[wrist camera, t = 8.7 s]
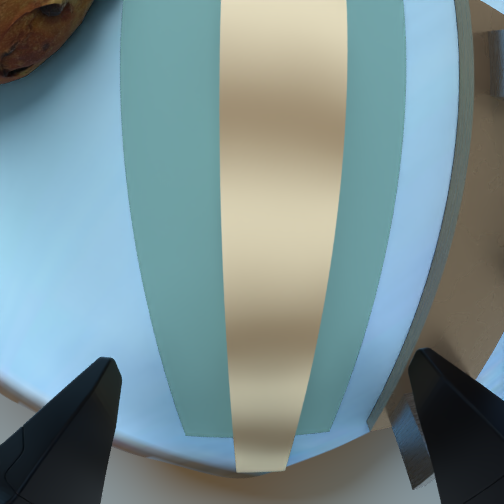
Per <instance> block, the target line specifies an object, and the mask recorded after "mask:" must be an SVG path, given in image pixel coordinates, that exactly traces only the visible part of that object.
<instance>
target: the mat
mask: <svg viewBox="0 0 504 504" xmlns="http://www.w3.org/2000/svg"><path fill="white" fill-rule="evenodd" d="M346 2H347V98H346V120H345V136H344V150H343V163H342V174H341V185H340V194H339V204H338V212H337V221H336V229H335V237H334V244H333V251H332V258H331V265H330V271H329V278H328V284H327V290H326V296H325V302H324V307H323V313H322V318H321V324H320V329H319V334H318V339H317V344H316V349H315V354H314V359H313V363H312V368H311V372H310V377H309V381H308V386H307V390H306V394H305V398H304V402H303V406H302V410H301V414H300V418H299V422H298V426H297V430H296V433H295V435H303V434H313V433H322V432H329V431H330V428H331V426H332V424H333V421H334V419H335V416H336V414H337V411H338V409H339V406H340V404H341V401H342V399H343V396H344V393H345V391H346V388H347V385H348V383H349V380H350V377H351V374H352V371H353V368H354V366H355V363H356V360H357V357H358V353H359V350H360V347H361V344H362V341H363V338H364V334H365V331H366V328H367V324H368V321H369V317H370V314H371V310H372V307H373V303H374V299H375V295H376V291H377V287H378V283H379V279H380V275H381V271H382V267H383V262H384V258H385V253H386V248H387V243H388V238H389V233H390V228H391V222H392V217H393V211H394V205H395V198H396V192H397V185H398V177H399V170H400V161H401V152H402V142H403V130H404V116H405V96H406V36H405V17H404V4H403V0H346ZM220 17H221V0H123V9H122V24H121V49H120V93H121V119H122V136H123V149H124V161H125V171H126V181H127V189H128V197H129V205H130V212H131V219H132V226H133V232H134V239H135V245H136V250H137V256H138V261H139V267H140V272H141V277H142V282H143V287H144V291H145V296H146V301H147V305H148V309H149V314H150V318H151V322H152V326H153V330H154V334H155V338H156V342H157V346H158V349H159V353H160V357H161V360H162V364H163V367H164V371H165V374H166V378H167V381H168V384H169V387H170V391H171V394H172V397H173V400H174V403H175V406H176V409H177V412H178V415H179V418H180V421H181V424H182V427H183V429H184V432H185V435H186V436H198V437H232V438H233V427H232V414H231V401H230V387H229V373H228V357H227V341H226V323H225V303H224V282H223V258H222V229H221V193H220V123H219V82H220Z"/></svg>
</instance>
